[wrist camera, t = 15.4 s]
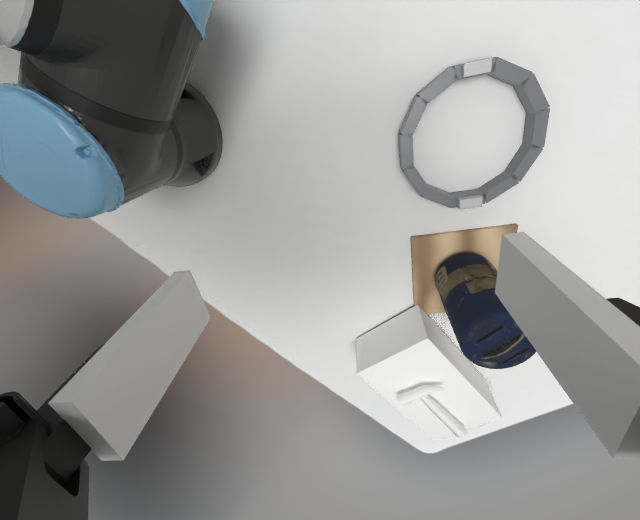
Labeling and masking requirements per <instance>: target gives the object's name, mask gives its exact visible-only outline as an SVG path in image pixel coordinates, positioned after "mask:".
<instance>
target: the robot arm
mask: <svg viewBox="0 0 640 520" xmlns="http://www.w3.org/2000/svg"><path fill="white" fill-rule="evenodd" d="M213 2H214V0H0V44H1V45H4V46H6V47H9V48H12V49H15V50H18V51H21V59H20V67H19V77H18V83H17V85H16V84H8V83H4V84H0V175H1V176H2V178H3V179H4V180H5V181H6V182H7V183H8V184H9V185H10V186H11V187H12V188H13V189H15V190H16V191H17V192H18V193H19V194H21V195H22V196H23V197H24V198H26V199H27V200H29V201H30V202H32V203H33V204H35V205H37V206H38V207H40V208H42V209H45V210H46V211H49V212H51V213H54V214H57V215H60V216H64V217H69V218H78V219H79V218H88V217H93V216H96V215H99V214H102V213H105V212H111V211H114V210H116V209H117V208H119V206H121V205H122V204H125V203H127V202H129V201H131V200H133V199H135V198H137V197H139V196H141V195H143V194H145V193H147V192H149V191H152V190H154V189H156V188H158V187H160V186H162V185H163V186H175V187H182V186H188V185H192V184H195V183H197V182H199V181H201V180H202V179H204V178H206V177H207V176H208V175H210V174H211V173H212V171H213V170H214V169H215V167H216V166H217V164H218V162H219V159H220V156H221V151H222V135H221V129H220V125H219V122H218V119H217V117H216V115H215V113H214V111H213V109H212V107H211V106H210V104H209V103H208V102H207V100H206V99H205V98H204V97H203V96H202V95H201V94H200V93H199V92H198V91H197V90H196V89H195V88H194V87H192V86H191V85H189V84H188V83H186V81H187V78H188V76H189V73H190V70H191V67H192V64H193V62H194V59H195V56H196V53H197V50H198V48H199V45H200V42H201V41H204V40H205V36H206V35H205V28H206V25H207V22H208V18H209V15H210V12H211V9H212V6H213ZM495 294H496V295H497V297H498V298H499V299H500V301H501V302H502V304H503V305H504V306H505V308H506V309H507V311H508V312H509V313H510V315H511V316H512V318H513V319H514V320H515V322H516V323H517V325H518V326H519V327H520V329H521V330H522V332H523V333H524V334H525V336H526V337H527V339H528V340H529V342H530V343H531V344H532V346H533V347H534V349H535V350H536V351H537V353H538V354H539V356H540V357H541V358H542V360H543V361H544V363H545V364H546V365H547V367H548V368H549V370H550V371H551V372H552V374H553V375H554V377H555V378H556V379H557V381H558V382H559V384H560V385H561V386H562V388H563V389H564V391H565V392H566V393H567V395H568V396H569V398H570V399H571V400H572V402H573V403H574V405H575V406H576V407H577V409H578V410H579V411H580V413H581V414H582V416H583V417H584V419H585V420H586V421H587V422H588V424H589V425H590V427H591V428H592V430H593V431H594V432H595V434H596V435H597V437H598V438H599V440H600V441H601V442H602V444H603V445H604V447H605V448H606V449H607V450H608V452H609V454H610V455H611V456H612V458H640V307H638V306H635V305H633V304H631V303H629V302H627V301H625V300H622V299H620V298H610V299H605V298H604V297H603V296H602V295H600V294H599V293H598V292H597V291H596V290H594V289H593V288H592V287H591V286H589V285H588V284H587V283H586V282H584V281H583V280H582V279H581V278H580V277H578V276H577V275H576V274H575V273H573V272H572V271H571V270H570V269H569V268H567V267H566V266H565V265H564V264H562V263H561V262H560V261H559V260H558V259H556V258H555V257H554V256H553V255H551V254H550V253H549V252H548V251H547V250H545V249H544V248H543V247H542V246H540V245H539V244H538V243H537V242H536V241H534V240H533V239H532V238H531V237H529V236H528V235H527V234H526V233H525V232H519V233H510V234H502V239H501V247H500V256H499V264H498V272H497V280H496V288H495ZM210 318H211V317H210V315H209V312H208V310H207V308H206V306H205V303H204V301H203V299H202V297H201V294H200V292H199V290H198V288H197V285H196V283H195V281H194V279H193V276H192V274H191V272H190V270H188V271H179V272H174V273H173V274H172V275H171V276H170V277H169V278H168V279H167V280H166V281H165V282H164V283H163V284H162V286H161V287H160V288H159V289H158V290H157V291H156V292H155V293H154V294H153V295H152V296H151V297H150V298H149V299H148V300H147V301H146V302H145V303H144V304H143V305H142V306H141V307H140V308H139V309H138V310H137V311H136V312H135V313H134V315H133V316H132V317H131V318H130V319H129V320H128V321H127V322H126V323H125V324H124V325H123V326H122V327H121V328H120V329H119V330H118V331H117V332H116V333H115V334H114V335H113V336H112V337H111V338H110V339H109V341H107V342H106V343H105V344H103V345H102V346H101V347H99V348H98V349H97V350H96V351H95V352H94V353H93V354H92V355H91V356H90V357H89V358H88V359H87V360H86V361H85V363H83V364H82V365H81V366H80V367H79V368H78V369H77V370H76V373H73V374H72V375H71V376H70V377H69V378H68V379H67V380H66V381H65V382H64V383H63V384H62V386H60V387H59V388H58V389H57V391H56V392H55V393H54V394H53V395H52V396H51V397H50V398H49V399H48V400H47V401H46V402H45V403H44V404H43V405H42V406H41V407H40V408H39V409H38V410H37V411H36V410H35V409H34V408H33V407H32V406H31V405H30V404H29V403H28V402H27V401H26V400H25V399H24V398H23V397H22V396H21V395H20V394H19V393H17V392H8V393H4V394H1V395H0V520H88V491H89V490H88V489H89V466H88V463H87V462H86V461H85V460H84V458H85V457H86V456H87V454H88V453H89V452H90V450H92V451H94V453H95V454H96V455H97V456H98V457H99V458H100V459H101V460H124V458H125V457H126V455H127V453H128V452H129V450H130V448H131V447H132V445H133V444H134V442H135V440H136V439H137V437H138V435H139V434H140V432H141V431H142V429H143V427H144V426H145V424H146V422H147V421H148V419H149V417H150V416H151V414H152V413H153V411H154V409H155V408H156V406H157V404H158V403H159V401H160V399H161V398H162V396H163V394H164V393H165V391H166V390H167V388H168V386H169V385H170V383H171V382H172V380H173V378H174V377H175V375H176V373H177V372H178V370H179V368H180V367H181V365H182V363H183V362H184V360H185V359H186V357H187V355H188V354H189V352H190V350H191V349H192V347H193V345H194V344H195V342H196V341H197V339H198V337H199V336H200V334H201V333H202V331H203V329H204V328H205V326H206V324H207V323H208V321H209V319H210Z"/></svg>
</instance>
